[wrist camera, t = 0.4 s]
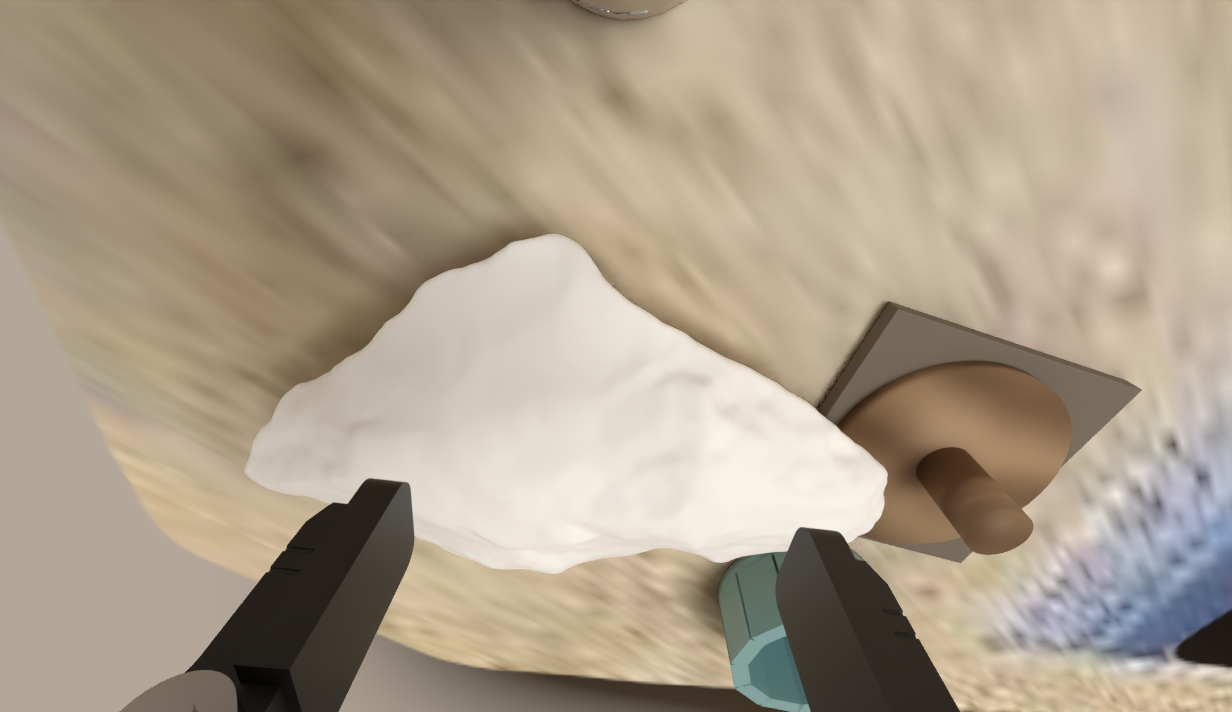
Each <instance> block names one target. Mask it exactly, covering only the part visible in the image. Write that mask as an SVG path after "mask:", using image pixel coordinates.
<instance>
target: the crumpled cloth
mask: <svg viewBox="0 0 1232 712" xmlns="http://www.w3.org/2000/svg"><path fill="white" fill-rule="evenodd" d="M244 471H245V474H246V475H247V476H248V477H249V478H250V479H251V480H253V481H254V482H256V483H258V484H260V485H262V486H263V487H265V488H267V489H269V490H273V491H276V492H280V493H284V494H289V495H299V496H308V497H312V498H314V499H317V500H319V501H322V502H325V503H328V504H331V503H333V502H335V503H345V504H348V503H349V501H350V500H351V498H352V497H353V496H354V494H355V493H356V491H357V490H358V489H359V487H360V486H361V484H362V483H363V482H364V481H365V480H366V479H368V478H373V479H383V480H392V481H401V482H408V483H409V485H410V488H411V499H412V512H413V524H414V536H415V537H417V538H419V539H422V540H425V541H428V542H431V543H435V544H437V545H438V546H439V547H441V548H442V549H444V550H446V551H448V552H450V553H454V554H457V555H460V556H462V557H464V558H467V559H471V560H474V561H477V562H479V563H480V564H482V565H484V566H486V567H490V568H494V569H528V570H533V571H537V572H542V573H550V574H558V573H561V572H563V571H564V570H566V569H568V568H570V567H572V566H575V565H577V564H580V563H583V562H587V561H592V560H597V559H602V558H608V557H622V556H628V555H634V554H638V553H641V552H645V551H649V550H652V549H656V548H671V549H677V550H681V551H685V552H688V553H693V554H698V555H701V556H703V557H705V558H707V559H708V560H710V561H712V562H717V563H725V562H728V561H730V560H732V559H735V558H739V557H743V556H749V555H756V554H763V553H770V552H786V551H788V549H789V546H790V544H791V542H792V539H793V537H794V535H795V532H796V531H797V529H799V528H800V527H806V528H815V529H824V530H833V531H838V532H840V533H841V534H842V535H843V537H844V538H845V540H846V542H847V543H849V542H851V541H853V540H854V539H855V538H856V537H857V536H860V535H862V534H865V533H867V532H869V531H870V530H871V529H872V528H873V526H874V524H875V523H876V522H877V521H878V520H879V518H880V517H881V515H882V511H883V508H884V503H885V501H884V489H885V486H886V484H887V476H888V473H887V471H886V469H885V468H884V466H882V465H881V464H880V463H879V462H878V461H877V460H875V459H874V458H873V457H872V456H871V455H870V453H868V452H867V451H866V450H865V449H864V448H863V447H861V446H860V445H858V444H856V443H855V442H853V441H852V440H851V439H850V438H849V437H848V436H847V435H845V434H844V433H843V432H842V431H840V429H839V428H838V427H837V426H836V425H835V424H833V423H832V422H831V421H829V420H828V419H826V418H825V417H824V416H823V415H822V414H820V413H819V412H818V411H817V410H816V409H815V408H814V407H813V406H812V405H810V404H809V403H808V402H806V401H805V400H803V399H802V398H800V397H798V396H796V395H794V394H793V393H791V392H789V391H787V390H786V389H784V388H783V387H782V386H781V385H779V384H778V383H776V382H775V381H773V380H771V379H769V378H767V377H765V376H763V375H761V374H759V373H758V372H756V371H754V370H753V369H751V368H749V367H747V366H745V365H743V364H740V363H738V362H736V361H733V360H731V359H728V358H726V357H724V356H722V355H720V354H718V353H716V352H715V351H713V350H711V349H709V348H707V347H706V346H704V345H702V344H700V343H698V342H697V341H695V340H693V339H692V338H691V337H690V336H688V335H687V334H686V333H684V332H683V331H680V330H678V329H676V328H674V327H671V326H669V325H667V324H665V323H663V322H661V321H660V320H658V319H657V318H656V317H655V316H653V315H652V314H650V313H649V312H647V311H645V310H643V309H641V308H640V307H638V306H636V305H635V304H633V303H632V302H630V301H629V300H627V299H626V298H625V297H624V296H623V295H622V294H620V293H619V292H618V291H617V290H616V289H614V288H613V287H612V286H611V285H610V284H609V283H608V282H607V281H606V279H605V278H604V277H603V275H602V274H601V273H600V271H599V269H598V268H597V266H596V265H595V264H594V262H593V261H592V259H591V257H590V256H589V255H588V253H587V252H586V251H585V250H584V249H583V247H582V246H581V245H579V244H578V243H577V242H575V241H574V240H572V239H570V238H568V237H566V236H564V235H560V234H545V235H541V236H538V237H534V238H529V239H524V240H520V241H513V242H511V243H509V244H508V245H507V246H505V247H504V248H503V249H501V250H500V251H498V252H496V253H495V254H494V255H492V256H491V257H489V258H488V259H485V260H483V261H480V262H477V263H473V264H470V265H467V266H465V267H462V268H456V269H451V270H448V271H446V272H443V273H441V274H439V275H437V276H436V277H434V278H431V279H429V280H427V281H426V282H424V283H423V284H422V285H421V286H420V287H419V288H418V289H417V290H416V292H415V294H414V296H413V298H412V299H411V301H410V302H409V304H408V305H407V306H406V307H405V308H404V309H403V310H402V311H401V312H400V313H399V314H397V315H396V316H394V317H393V318H391V319H390V320H388V321H387V322H386V323H384V325H383V326H382V328H381V329H380V330H379V331H378V332H377V333H376V335H375V336H374V338H373V339H372V341H371V342H370V343H369V344H368V345H367V346H365V347H364V348H363V349H362V350H360V351H359V352H356V353H355V354H353V355H351V356H348V357H347V358H345V359H344V360H343V361H342V362H340V363H339V364H337V365H335V366H334V367H333V368H332V370H331V371H329V372H327V373H325V374H323V375H321V376H320V377H319V378H317V379H314V380H311V381H308V382H305V383H299V384H297V385H295V386H294V387H293V388H292V389H291V390H289V391H288V392H287V393H286V394H285V395H284V396H283V397H282V398H281V400H280V401H279V404H278V405H277V407H276V409H275V411H274V414H273V416H272V419H271V420H270V421H269V422H268V423H267V424H266V425H265V426H263V427H262V428H261V429H260V431H259V432H258V434H257V435H256V437H255V439H254V441H253V443H252V447H251V452H250V457H249V459H248V461H247V463H246V466H245V470H244Z"/></svg>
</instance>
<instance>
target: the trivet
mask: <svg viewBox="0 0 1232 712" xmlns="http://www.w3.org/2000/svg"><path fill="white" fill-rule="evenodd" d="M957 361H991V362H999V363H1003V364H1007V365H1011V366H1014V367H1016V368H1019V369H1021V370H1024V371H1026V372H1027V373H1029V374H1031V375H1032V376H1034V377H1035V378H1037V379H1038V380H1040V381H1041V382H1043V383H1044V384H1045V385H1047V386H1048V387H1050V388H1051V389H1052V390H1053V391H1054V392H1055V393H1056V394H1057V395H1058V396H1059V397H1060V398H1061V400H1062V401H1063V403H1064V404H1065V405H1066V408H1067V410H1068V413H1069V415H1070V419H1071V425H1072V436H1071V443H1070V447H1069V451H1068V453H1067V456H1066V458H1065V461H1064V463H1063V464H1062V466H1063V465H1064V464H1065V463H1066V462H1067V461H1068V460H1069V459H1070V458H1071V457H1072V456H1073V455H1074V454H1075V453H1076V452H1077V451H1079V450H1080V449H1081V448H1082V447H1083V446H1084V445H1085V444H1086V443H1087V442H1088V441H1089V440H1090V439H1091V438H1092V437H1093V436H1094V435H1095V434H1096V433H1097V432H1098V431H1100V430H1101V429H1102V428H1103V427H1104V426H1105V425H1106V424H1107V423H1108V422H1109V421H1110V420H1111V419H1112V418H1113V417H1114V416H1115V415H1116V414H1117V413H1118V412H1119V411H1121V410H1122V409H1123V408H1124V407H1125V406H1126V405H1127V404H1128V403H1129V402H1130V401H1131V400H1132V399H1133V398H1134V397H1135V396H1136V395H1137V394H1138V393H1139V392H1140V391H1142V390H1141V389H1140V388H1138V387H1136V386H1135V385H1133V384H1131V383H1129V382H1128V381H1126V380H1123V379H1120V378H1117V377H1114V376H1111V375H1108V374H1105V373H1102V372H1099V371H1096V370H1093V369H1090V368H1087V367H1084V366H1081V365H1078V364H1075V363H1072V362H1069V361H1066V360H1063V359H1060V358H1057V357H1054V356H1051V355H1048V354H1045V353H1042V352H1039V351H1036V350H1033V349H1030V348H1027V347H1024V346H1021V345H1018V344H1015V343H1012V342H1009V341H1006V340H1003V339H1000V338H997V337H994V336H991V335H988V334H985V333H982V332H979V331H976V330H973V329H970V328H967V327H964V326H961V325H958V324H955V323H952V322H949V321H946V320H943V319H940V318H937V317H934V316H931V315H928V314H925V313H922V312H919V311H916V310H913V309H910V308H907V307H904V306H901V305H898V304H895V303H892V302H889V303H888V304H887V306H886V307H885V309H884V310H883V312H882V313H881V315H880V317H879V318H878V320H877V321H876V323H875V324H874V326H873V327H872V329H871V330H870V332H869V333H868V335H867V336H866V338H865V339H864V341H863V342H862V344H861V345H860V347H859V348H858V350H857V352H856V353H855V355H854V356H853V358H852V359H851V361H850V362H849V364H848V365H847V367H846V368H845V370H844V371H843V373H842V374H841V376H840V377H839V379H838V380H837V382H836V383H835V385H834V387H833V388H832V390H831V391H830V393H829V394H828V396H827V397H826V399H825V400H824V402H823V403H822V405H821V406H820V408H819V409H818V412H819V413H820V414H822V415H823V416H824V417H825V418H826V419H828V420H829V421H831V422H832V423H833V424H835V425H836V426H838V425H839V423H840V422H841V421H842V420H843V418H844V417H845V416H846V415H847V414H848V413H849V412H850V411H851V410H852V409H853V408H854V407H855V406H856V405H857V404H859V403H860V402H861V401H862V400H863V399H865V398H866V397H867V396H868V395H870V394H871V393H873V392H875V391H876V390H878V389H879V388H881V387H882V386H884V385H886V384H888V383H890V382H892V381H893V380H895V379H897V378H900V377H902V376H904V375H907V374H909V373H911V372H914V371H917V370H920V369H923V368H927V367H930V366H934V365H939V364H943V363H948V362H957ZM1062 466H1061V467H1062ZM857 537H861V538H865V539H869V540H873V541H877V542H881V543H885V544H889V545H893V546H897V547H900V548H904V549H908V550H912V551H916V552H920V553H924V554H928V555H932V556H936V557H940V558H943V559H947V560H951V561H955V562H959V563H961V562H962V561H963V560H964V559H965V558H966V557H967V556H968V555H969V554H970V553H971V552H973V551H972V550H971V549H970V548H969V547H968V546H967V545H966V543H965V542H964V541H963V539H962V538H957V539H953V540H948V541H943V542H937V543H930V544H895V543H888V542H883V541H878V540H875V539H872V538H869V537H866V536H864V535H860V536H857Z"/></svg>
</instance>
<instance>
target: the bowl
mask: <svg viewBox="0 0 1232 712" xmlns="http://www.w3.org/2000/svg"><path fill="white" fill-rule="evenodd" d="M851 551H852V553H853V555H854V557H855V559H856V560H862V561H864V560H863V558H862V557H861V556H860V555H858V554H857V553H856V552H855V551H853V550H851ZM786 553H787V551H786V552H770V553H763V554H756V555H749V556H743V557H740V558H739V559H738V560H736V561H735V562H734V563H733V564H732V565H731V566H730V567H729V568H728V569H727V570H726V572H725V573H724V575H723V576H722V578H721V580H720V583H719V587H718V598H719V604H720V610H721V615H722V621H723V627H724V632H725V638H726V643H727V649H728V655H729V660H730V666H731V671H732V677H733V683H734V687H735V689H737V690H738V691H739V692H741V693H742V694H744V695H745V696H747V697H748V698H749V699H751V700H752V701H754V702H755V703H757V704H758V705H760V704H761V706H765V707H770V708H775V709H781V710H785V711H790V712H798V711H799V712H811V711H810V708H809V705H808V702H807V699H806V695H805V692H804V689H803V686H802V683H801V680H800V677H799V673H798V670H797V667H796V664H795V661H794V658H793V654H792V651H791V648H790V645H789V642H788V639H787V636H786V632H785V629H784V626H783V623H782V620H781V617H780V613H779V610H778V607H777V602H776V593H775V587H776V579H777V575H778V572H779V570H780V568H781V565H782V563H783V561H784V558H785V556H786Z"/></svg>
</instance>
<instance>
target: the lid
mask: <svg viewBox="0 0 1232 712" xmlns="http://www.w3.org/2000/svg"><path fill="white" fill-rule="evenodd" d="M837 427H838V428H839V429H840V431H842V432H843V433H844V434H845V435H847V436H848V437H849V438H850V439H851V440H852V441H853V442H855V443H856V444H858V445H860V446H861V447H863V448H864V449H865V450H866V451H867V452H868V453H870V455H871V456H872V457H873V458H874V459H875V460H877V461H878V462H879V463H880V464H881V465H882V466H884V468H885V469H886V471H887V473H888V476H887V484H886V486H885V489H884V501H885V503H884V508H883V511H882V515H881V517H880V518H879V520H878V521H877V522H876V523H875V524H874V526H873V528H872V529H871V530H870V531H869V532H867V533H865V534H862V535H864V536H866V537H869V538H872V539H875V540H878V541H883V542H888V543H895V544H930V543H937V542H943V541H948V540H953V539H957V538H962V539H963V541H964V542H965V543H966V545H967V546H968V547H969V548H970V549H971V550H972V551H974V552H976V553H979V554H985V555H991V554H999V553H1003V552H1007V551H1009V550H1012V549H1014V548H1016V547H1018V546H1019V545H1021V544H1022V543H1023V542H1025V541H1026V540H1027V539H1028V538H1029V536H1030V535H1031V533H1032V531H1033V522H1032V520H1031V519H1030V518H1029V517H1028V516H1027V515H1026V514H1025V513H1024V512H1023V510H1022V508H1023V507H1025V506H1026V505H1027V504H1029V503H1030V502H1031V501H1032V500H1033V499H1034V498H1036V497H1037V496H1038V495H1039V494H1040V493H1041V492H1042V491H1043V490H1044V489H1045V488H1046V487H1047V486H1048V485H1049V483H1050V482H1051V481H1052V480H1053V478H1054V477H1055V476H1056V474H1057V473H1058V471H1059V470H1060V468H1061V466H1062V464H1063V463H1064V461H1065V458H1066V456H1067V453H1068V451H1069V447H1070V443H1071V436H1072V425H1071V419H1070V415H1069V413H1068V410H1067V408H1066V405H1065V404H1064V403H1063V401H1062V400H1061V398H1060V397H1059V396H1058V395H1057V394H1056V393H1055V392H1054V391H1053V390H1052V389H1051V388H1050V387H1048V386H1047V385H1045V384H1044V383H1043V382H1041V381H1040V380H1038V379H1037V378H1035V377H1034V376H1032V375H1031V374H1029V373H1027V372H1026V371H1024V370H1021V369H1019V368H1016V367H1014V366H1011V365H1007V364H1003V363H999V362H991V361H957V362H948V363H943V364H939V365H934V366H930V367H927V368H923V369H920V370H917V371H914V372H911V373H909V374H907V375H904V376H902V377H900V378H897V379H895V380H893V381H892V382H890V383H888V384H886V385H884V386H882V387H881V388H879V389H878V390H876V391H875V392H873V393H871V394H870V395H868V396H867V397H866V398H865V399H863V400H862V401H861V402H860V403H859V404H857V405H856V406H855V407H854V408H853V409H852V410H851V411H850V412H849V413H848V414H847V415H846V416H845V417H844V418H843V420H842V421H841V422H840V423H839V425H838V426H837Z"/></svg>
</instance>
